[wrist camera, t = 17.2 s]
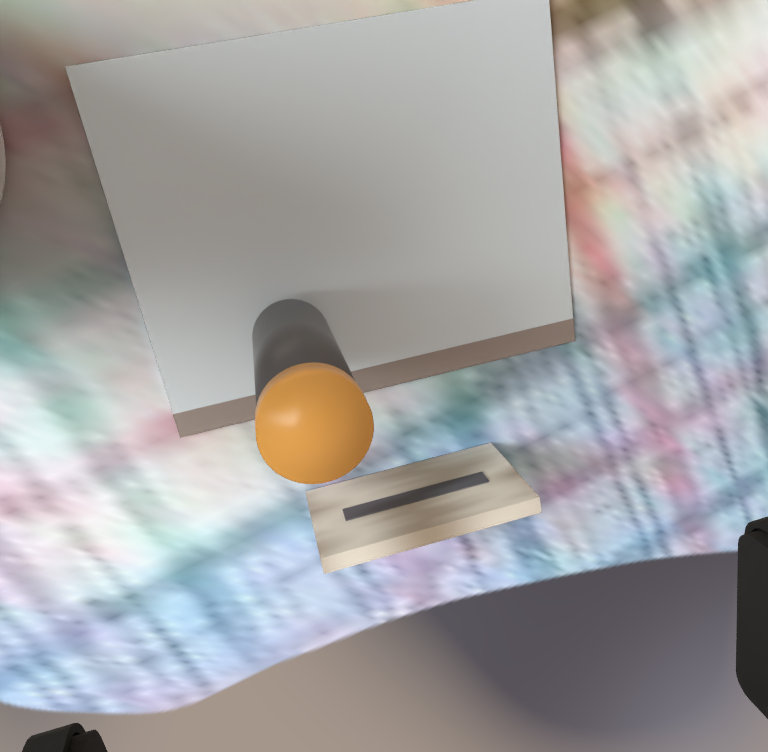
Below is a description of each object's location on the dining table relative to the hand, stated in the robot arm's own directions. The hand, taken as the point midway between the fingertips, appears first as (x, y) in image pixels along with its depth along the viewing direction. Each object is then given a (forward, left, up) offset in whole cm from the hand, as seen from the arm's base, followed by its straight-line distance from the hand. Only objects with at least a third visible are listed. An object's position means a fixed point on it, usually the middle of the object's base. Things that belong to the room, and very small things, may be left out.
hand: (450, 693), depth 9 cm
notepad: (-3, -3, -23) cm, 24 cm away
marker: (0, +1, -23) cm, 23 cm away
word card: (-3, +10, -23) cm, 25 cm away
